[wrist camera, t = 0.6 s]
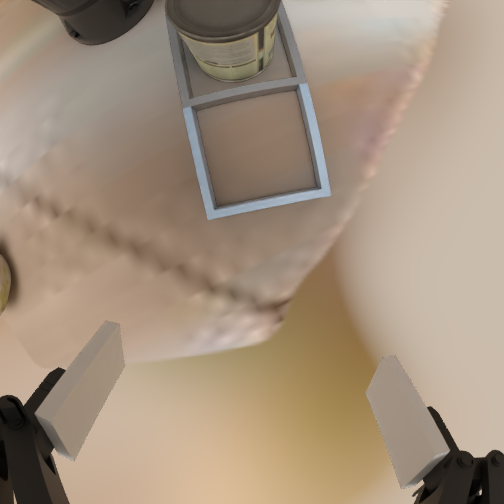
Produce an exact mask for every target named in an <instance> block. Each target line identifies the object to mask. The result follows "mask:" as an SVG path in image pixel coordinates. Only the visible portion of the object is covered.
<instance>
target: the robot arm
mask: <svg viewBox="0 0 504 504" xmlns="http://www.w3.org/2000/svg"><path fill="white" fill-rule="evenodd" d="M32 1H34V2H35V3H37V4H39V5H41V6H43V7H44V8H46V9H48V10H50V11H51V12H53V13H55V14H57V15H58V16H59V18H60V20H61V21H62V23H63V25H64V27H65V29H66V31H67V32H68V34H69V35H70V36H71V37H72V38H74V39H75V40H77V41H79V42H80V43H83V44H86V45H97V44H102V43H105V42H108V41H111V40H113V39H115V38H117V37H119V36H120V35H122V34H124V33H125V32H127V31H128V30H129V29H131V28H132V27H133V26H134V25H135V24H137V23H138V22H139V21H140V20H141V19H142V17H143V16H144V15H145V14H146V13H147V11H148V10H149V8H150V6H151V5H152V3H153V0H32ZM124 367H125V363H124V356H123V348H122V340H121V331H120V324H118V323H114V322H110V321H105V323H104V324H103V325H102V326H101V327H100V329H99V330H98V331H97V332H96V334H95V335H94V336H93V337H92V338H91V340H90V341H89V342H88V343H87V345H86V346H85V347H84V348H83V350H82V351H81V352H80V353H79V355H78V356H77V357H76V358H75V360H74V361H73V362H72V364H71V365H70V366H69V367H68V369H67V370H64V369H62V368H59V367H58V368H57V369H55V370H53V371H52V372H50V373H49V374H48V375H47V377H46V378H45V379H44V380H43V382H42V383H41V384H40V386H39V388H37V389H36V390H35V392H34V393H33V394H32V396H31V397H30V398H29V400H28V401H27V403H26V404H25V405H24V406H23V405H22V403H21V401H20V400H19V399H18V398H17V397H15V396H12V395H5V396H2V397H1V398H0V504H14V498H13V497H14V495H13V490H14V494H15V498H16V501H17V504H70V503H69V501H68V498H67V496H66V494H65V491H64V488H63V486H62V483H61V480H60V477H59V474H58V471H57V468H56V465H55V462H54V459H53V456H52V454H51V452H52V450H53V449H54V448H55V450H56V451H57V453H58V454H59V455H61V456H63V457H65V458H67V459H69V460H71V461H75V459H76V457H77V455H78V453H79V451H80V449H81V447H82V445H83V443H84V441H85V439H86V437H87V435H88V433H89V431H90V430H91V428H92V426H93V424H94V422H95V420H96V418H97V416H98V414H99V412H100V410H101V409H102V407H103V405H104V403H105V401H106V399H107V397H108V395H109V394H110V392H111V390H112V389H113V387H114V385H115V383H116V381H117V380H118V378H119V376H120V374H121V372H122V371H123V369H124ZM366 396H367V398H368V401H369V403H370V406H371V408H372V411H373V413H374V416H375V418H376V421H377V424H378V426H379V429H380V432H381V434H382V437H383V440H384V442H385V445H386V448H387V450H388V453H389V456H390V458H391V461H392V464H393V467H394V470H395V473H396V476H397V478H398V481H399V484H400V487H401V489H405V488H409V487H412V486H415V485H416V484H418V483H419V482H420V481H421V480H422V479H423V481H424V484H423V486H421V487H420V488H419V489H418V490H417V491H416V492H414V494H413V495H412V496H413V497H414V496H415V495H416V494H417V493H418V496H417V497H416V500H415V502H414V504H504V454H503V453H502V452H500V451H498V450H492V451H491V452H489V453H488V454H487V456H486V457H482V458H474V457H473V456H472V455H471V454H470V453H469V452H467V451H460V450H459V449H458V447H457V445H456V443H455V442H454V440H453V438H452V436H451V434H450V432H449V431H448V429H446V426H445V424H444V422H443V420H442V418H441V417H440V415H439V413H438V412H437V411H436V410H435V409H433V408H432V407H431V406H430V407H426V405H425V404H424V402H423V400H422V398H421V396H420V395H419V393H418V392H417V390H416V388H415V386H414V385H413V383H412V381H411V379H410V378H409V376H408V374H407V373H406V371H405V369H404V368H403V366H402V365H401V363H400V361H399V360H398V358H397V356H396V355H383V357H382V359H381V362H380V364H379V366H378V368H377V370H376V372H375V375H374V377H373V379H372V381H371V383H370V385H369V387H368V389H367V391H366ZM481 489H482V494H481V495H479V491H480V490H481Z"/></svg>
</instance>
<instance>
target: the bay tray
mask: <svg viewBox="0 0 504 504" xmlns="http://www.w3.org/2000/svg"><path fill="white" fill-rule="evenodd" d="M165 15H166V14H165ZM166 21H167V27H168V33H169V39H170V44H171V50H172V55H173V61H174V66H175V72H176V77H177V82H178V87H179V92H180V97H181V102H182V107H183V112H184V117H185V122H186V127H187V131H188V136H189V141H190V145H191V150H192V154H193V159H194V163H195V168H196V172H197V177H198V181H199V185H200V190H201V194H202V198H203V202H204V206H205V211H206V215H207V219H208V220H211V219H216V218H221V217H225V216H230V215H234V214H239V213H244V212H249V211H254V210H258V209H263V208H268V207H273V206H278V205H284V204H289V203H294V202H299V201H305V200H310V199H315V198H321V197H327V196H331V191H330V186H329V180H328V174H327V169H326V164H325V159H324V153H323V149H322V144H321V139H320V134H319V130H318V125H317V121H316V116H315V112H314V108H313V104H312V100H311V96H310V92H309V88H308V84H307V80H306V77H305V73H304V69H303V66H302V62H301V59H300V55H299V52H298V49H297V45H296V42H295V39H294V35H293V32H292V29H291V26H290V23H289V20H288V17H287V14H286V11H285V8H284V5H283V3H282V0H281V2H280V6H279V9H278V12H277V24H278V27H279V31H280V34H281V37H282V41H283V44H284V47H285V51H286V54H287V58H288V61H289V65H290V69H291V72H292V76H293V77H292V78H285V79H278V80H272V81H266V82H260V83H255V84H250V85H245V86H240V87H235V88H231V89H226V90H222V91H218V92H214V93H210V94H206V95H202V96H198V97H195V98H193V95H192V91H191V86H190V81H189V76H188V71H187V66H186V61H185V56H184V51H183V45H182V40H181V36H180V34H179V33H178V31H177V30H176V29H175V28H174V27H173V26H172V25H171V23H170V22H169V20H168V18H167V16H166ZM293 90H296V91H297V95H298V99H299V103H300V108H301V112H302V116H303V120H304V125H305V129H306V134H307V138H308V143H309V148H310V153H311V158H312V163H313V168H314V173H315V178H316V184H317V187H316V188H310V189H304V190H299V191H294V192H288V193H283V194H278V195H273V196H268V197H263V198H258V199H253V200H248V201H243V202H239V203H234V204H229V205H225V206H220V207H217V204H216V200H215V196H214V191H213V187H212V183H211V178H210V174H209V169H208V165H207V160H206V156H205V152H204V147H203V142H202V138H201V133H200V129H199V124H198V119H197V115H196V110H200V109H204V108H208V107H211V106H215V105H220V104H224V103H228V102H233V101H237V100H242V99H247V98H252V97H257V96H262V95H268V94H274V93H280V92H286V91H293Z"/></svg>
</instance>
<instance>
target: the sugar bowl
mask: <svg viewBox="0 0 504 504" xmlns="http://www.w3.org/2000/svg"><path fill="white" fill-rule="evenodd" d="M10 286H11V273H10V269H9V266H8V264H7V262H6V260H5V258H4V257H3V256H2V255H1V254H0V315H1V314H2V312H3V311H4V309H5V307H6V304H7V300H8V296H9V290H10Z"/></svg>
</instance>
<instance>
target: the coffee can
mask: <svg viewBox="0 0 504 504" xmlns="http://www.w3.org/2000/svg"><path fill="white" fill-rule="evenodd" d="M280 2H281V0H166V2H165V12H166V16H167V18H168V20H169V22H170V23H171V25H172V26H173V27H174V28H175V29H176V30H177V31H178V33H179V34H180V36H181V37H182V39H183V40H184V42H185V43H186V45H187V46H188V48H189V50H190V51H191V53H192V54H193V56H194V57H195V59H196V60H197V62H198V64H199V66H200V68H201V69H202V70H203V71H204V72H205V73H206V74H207V75H209V76H210V77H212V78H214V79H216V80H220V81H224V82H240V81H246V80H248V79H251V78H253V77H255V76H257V75H259V74H260V73H261V72H263V71H264V70H265V69H266V68H267V66H268V65H269V63H270V61H271V59H272V56H273V51H274V47H273V46H274V37H275V29H276V21H277V12H278V9H279V6H280Z"/></svg>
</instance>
